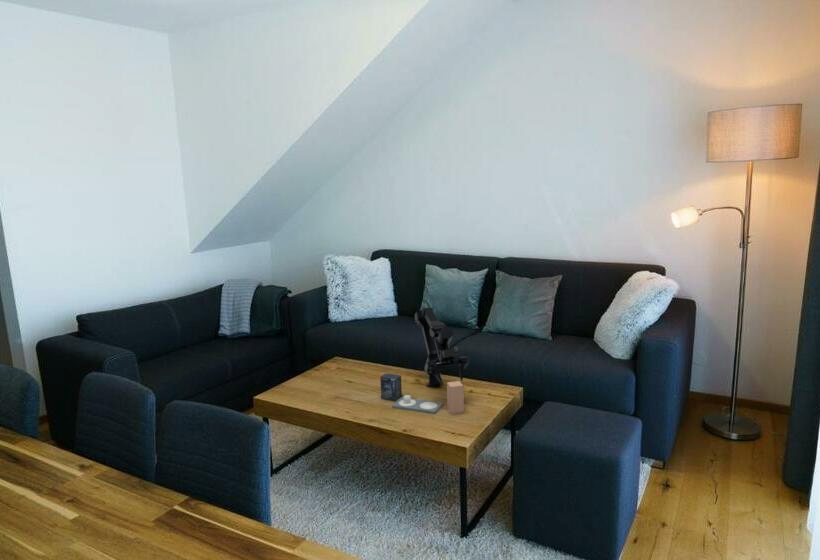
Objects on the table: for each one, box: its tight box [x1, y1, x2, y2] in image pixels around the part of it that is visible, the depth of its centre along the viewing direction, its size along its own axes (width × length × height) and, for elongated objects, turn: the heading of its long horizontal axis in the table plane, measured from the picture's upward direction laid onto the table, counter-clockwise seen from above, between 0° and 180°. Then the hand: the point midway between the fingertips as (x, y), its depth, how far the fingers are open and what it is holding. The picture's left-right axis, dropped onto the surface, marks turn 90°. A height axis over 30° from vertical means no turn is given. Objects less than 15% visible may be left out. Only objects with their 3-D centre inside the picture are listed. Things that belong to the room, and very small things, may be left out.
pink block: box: [446, 380, 465, 415], centre depth 246 cm, size 6×6×12 cm
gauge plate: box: [391, 394, 444, 415], centre depth 252 cm, size 10×20×4 cm, turn 67°
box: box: [379, 372, 403, 402], centre depth 262 cm, size 8×6×11 cm
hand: (451, 381), depth 249 cm, fingers open, 9 cm apart
